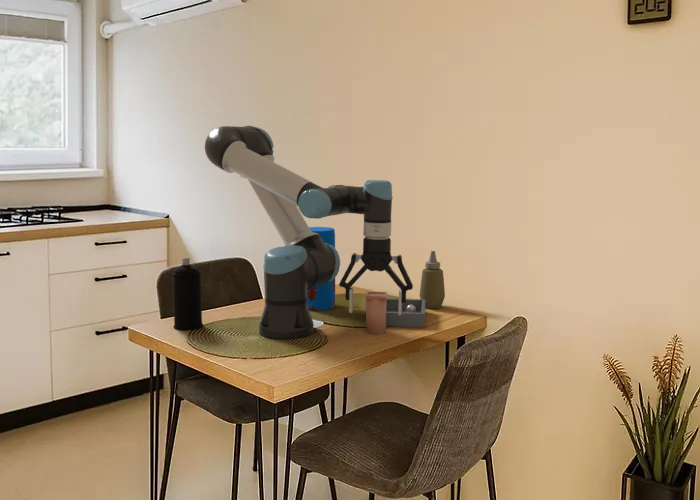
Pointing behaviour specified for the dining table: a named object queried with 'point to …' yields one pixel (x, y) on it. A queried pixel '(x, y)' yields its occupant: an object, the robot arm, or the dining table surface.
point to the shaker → (376, 312)
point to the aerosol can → (187, 297)
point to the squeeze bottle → (432, 283)
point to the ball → (411, 309)
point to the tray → (405, 313)
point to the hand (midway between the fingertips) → (375, 312)
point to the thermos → (325, 294)
